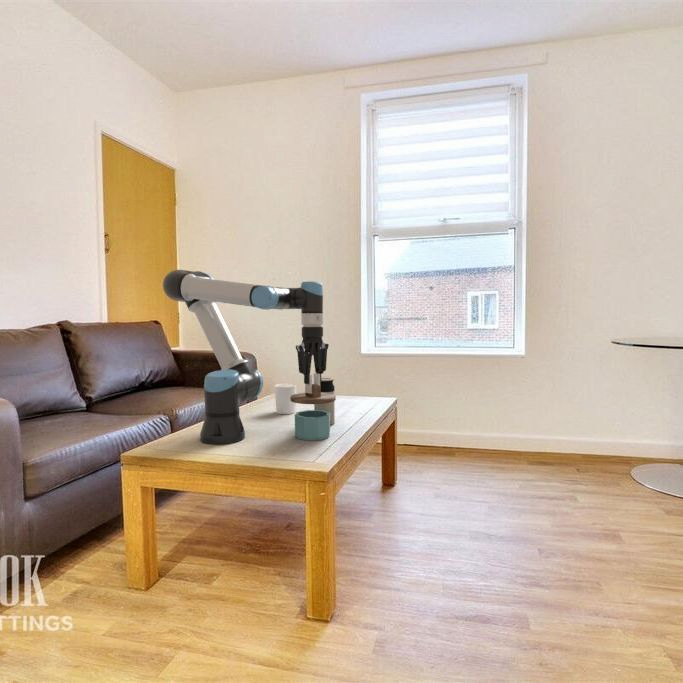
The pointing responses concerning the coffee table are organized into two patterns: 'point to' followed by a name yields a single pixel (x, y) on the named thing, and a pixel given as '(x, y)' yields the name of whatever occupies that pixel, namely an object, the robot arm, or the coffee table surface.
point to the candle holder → (285, 398)
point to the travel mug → (330, 407)
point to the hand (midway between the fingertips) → (312, 392)
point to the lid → (313, 396)
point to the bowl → (312, 425)
